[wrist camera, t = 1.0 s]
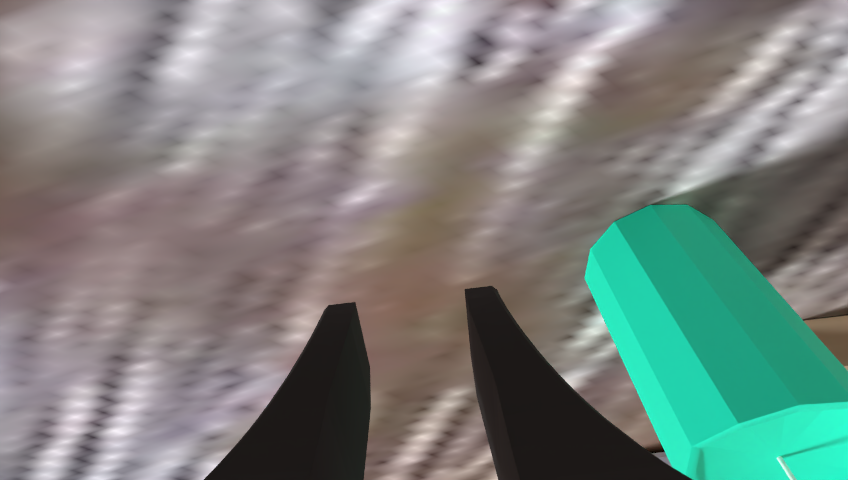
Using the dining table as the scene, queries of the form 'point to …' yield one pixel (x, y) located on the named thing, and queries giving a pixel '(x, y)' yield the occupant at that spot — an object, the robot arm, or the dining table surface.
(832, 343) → the stand
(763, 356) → the candle
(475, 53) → the dining table surface
